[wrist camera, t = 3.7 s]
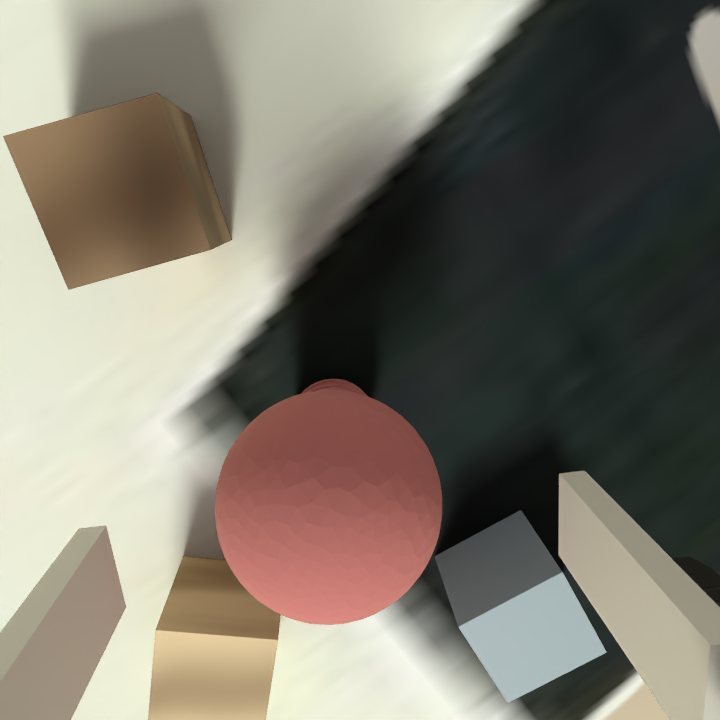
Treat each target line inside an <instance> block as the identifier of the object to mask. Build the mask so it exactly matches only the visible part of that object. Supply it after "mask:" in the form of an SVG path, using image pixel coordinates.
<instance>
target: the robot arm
mask: <svg viewBox="0 0 720 720" xmlns="http://www.w3.org/2000/svg"><path fill="white" fill-rule="evenodd" d="M558 555H559V556H560V558H561V559H562V561H563V562H564V564H565V565H566V567H567V568H568V570H569V571H570V573H571V574H572V576H573V577H574V579H575V580H576V582H577V583H578V585H579V586H580V588H581V589H582V590H583V592H584V593H585V595H586V596H587V598H588V599H589V601H590V602H591V604H592V605H593V607H594V608H595V610H596V611H597V613H598V614H599V616H600V617H601V619H602V620H603V622H604V623H605V625H606V626H607V627H608V629H609V630H610V632H611V633H612V635H613V636H614V638H615V639H616V641H617V642H618V644H619V645H620V647H621V648H622V650H623V651H624V653H625V654H626V656H627V657H628V659H629V660H630V662H631V663H632V664H633V666H634V667H635V669H636V670H637V672H638V673H639V675H640V676H641V678H642V679H643V681H644V682H645V684H646V685H647V687H648V688H649V690H650V691H651V693H652V694H653V695H654V697H655V698H656V700H657V701H658V703H659V704H660V706H661V707H662V709H663V710H664V712H665V713H666V715H667V716H668V718H669V719H670V720H720V576H719V575H718V574H717V573H716V572H715V571H714V570H713V569H711V568H710V567H708V566H706V565H704V564H702V563H700V562H699V561H697V560H695V559H693V558H691V557H683V558H675V559H671V558H670V557H669V556H668V555H667V554H666V553H665V551H664V550H663V549H662V548H661V547H660V546H659V545H658V544H657V543H656V542H655V541H654V540H653V539H652V538H651V537H650V536H649V535H648V534H647V533H646V532H645V531H644V530H643V529H642V528H641V527H640V526H639V525H638V524H637V523H636V522H635V521H634V520H633V519H632V518H631V517H630V516H629V515H628V514H627V513H626V512H625V511H624V510H623V509H622V508H621V507H620V506H619V505H618V504H617V503H616V502H615V501H614V500H613V499H612V498H611V497H610V496H609V495H608V494H607V493H606V492H605V491H604V490H603V489H602V488H601V487H600V486H599V485H598V484H597V483H596V482H595V481H594V480H593V479H592V478H591V477H590V476H589V475H588V474H587V473H586V472H585V471H578V472H569V473H560V474H559V551H558ZM125 608H126V605H125V601H124V597H123V593H122V589H121V585H120V581H119V576H118V572H117V568H116V564H115V560H114V556H113V552H112V548H111V544H110V540H109V535H108V531H107V527H106V526H98V527H90V528H81V529H78V530H77V532H76V533H75V534H74V536H73V537H72V538H71V540H70V541H69V542H68V544H67V545H66V546H65V548H64V549H63V550H62V552H61V553H60V554H59V556H58V557H57V558H56V560H55V561H54V562H53V564H52V565H51V566H50V568H49V569H48V570H47V572H46V573H45V574H44V575H43V577H42V578H41V579H40V581H39V582H38V583H37V585H36V586H35V587H34V589H33V590H32V591H31V593H30V594H29V595H28V597H27V598H26V599H25V601H24V602H23V603H22V605H21V606H20V607H19V609H18V610H17V611H16V613H15V614H14V615H13V617H12V618H11V619H10V621H9V622H8V623H7V625H6V626H5V627H4V628H3V630H2V631H1V632H0V720H71V718H72V716H73V714H74V712H75V710H76V708H77V706H78V704H79V702H80V700H81V698H82V696H83V694H84V692H85V689H86V687H87V685H88V683H89V681H90V679H91V677H92V675H93V673H94V671H95V669H96V667H97V665H98V663H99V661H100V659H101V657H102V655H103V653H104V651H105V649H106V647H107V645H108V643H109V641H110V638H111V636H112V634H113V632H114V630H115V628H116V626H117V624H118V622H119V620H120V618H121V616H122V614H123V612H124V610H125Z"/></svg>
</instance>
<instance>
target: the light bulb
mask: <svg viewBox="0 0 720 720" xmlns="http://www.w3.org/2000/svg"><path fill="white" fill-rule="evenodd" d="M441 518H442V492H441V486H440V480H439V476H438V473H437V470H436V467H435V464H434V461H433V458H432V456H431V454H430V452H429V450H428V448H427V446H426V445H425V443H424V442H423V440H422V439H421V437H420V436H419V434H418V433H417V432H416V430H415V429H414V428H413V427H412V426H411V425H410V424H409V423H408V422H407V421H406V420H405V419H404V418H403V417H402V416H401V415H400V414H398V413H397V412H395V411H394V410H393V409H391V408H390V407H388V406H387V405H385V404H383V403H381V402H379V401H377V400H375V399H372V398H370V397H368V396H367V395H366V394H365V393H364V392H363V391H362V390H361V389H360V388H359V387H357V386H356V385H355V384H353V383H351V382H348V381H346V380H342V379H326V380H321V381H319V382H316V383H314V384H312V385H310V386H309V387H307V388H306V389H305V390H304V391H303V392H302V393H301V394H299V395H295V396H292V397H290V398H288V399H285V400H283V401H281V402H279V403H277V404H275V405H273V406H271V407H270V408H268V409H267V410H265V411H264V412H263V413H261V414H260V415H259V416H258V417H257V418H255V419H254V420H253V421H252V422H251V423H250V424H249V425H248V426H247V427H246V428H245V429H244V431H243V432H242V433H241V434H240V436H239V437H238V439H237V440H236V441H235V443H234V444H233V446H232V447H231V449H230V450H229V453H228V455H227V457H226V459H225V462H224V464H223V466H222V469H221V473H220V476H219V480H218V484H217V488H216V498H215V521H216V529H217V534H218V539H219V543H220V546H221V549H222V551H223V554H224V557H225V559H226V561H227V563H228V565H229V567H230V568H231V570H232V571H233V573H234V574H235V576H236V577H237V579H238V580H239V582H240V583H241V584H242V585H243V586H244V588H245V589H246V590H247V591H248V592H249V593H250V594H251V595H252V596H253V597H254V598H256V599H257V600H258V601H259V602H261V603H262V604H264V605H265V606H267V607H268V608H270V609H271V610H273V611H274V612H277V613H279V614H281V615H283V616H285V617H288V618H291V619H294V620H297V621H301V622H305V623H310V624H325V625H333V624H344V623H348V622H353V621H357V620H361V619H364V618H366V617H369V616H371V615H374V614H376V613H377V612H379V611H381V610H383V609H385V608H386V607H388V606H389V605H391V604H392V603H393V602H395V601H396V600H398V599H399V598H400V597H401V596H402V595H403V594H404V593H406V592H407V591H408V590H409V589H410V588H411V586H412V585H413V584H414V583H415V581H416V580H417V579H418V578H419V576H420V575H421V574H422V572H423V570H424V569H425V567H426V565H427V563H428V562H429V559H430V557H431V555H432V553H433V551H434V548H435V545H436V542H437V539H438V536H439V531H440V525H441Z"/></svg>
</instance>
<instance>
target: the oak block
mask: <svg viewBox="0 0 720 720" xmlns="http://www.w3.org/2000/svg"><path fill="white" fill-rule="evenodd" d="M279 623H280V614H279V613H277V612H274V611H273V610H271V609H270V608H268V607H267V606H265V605H264V604H262V603H261V602H259V601H258V600H257V599H256V598H254V597H253V596H252V595H251V594H250V593H249V592H248V591H247V590H246V589H245V588H244V586H243V585H242V584H241V583H240V582H239V580H238V579H237V577H236V576H235V574H234V573H233V571H232V570H231V568H230V567H229V565H228V563H227V561H226V560H217V559H207V558H196V557H186V556H183V558H182V561H181V564H180V566H179V569H178V572H177V574H176V577H175V580H174V582H173V585H172V588H171V590H170V593H169V596H168V598H167V601H166V604H165V606H164V609H163V612H162V614H161V617H160V620H159V622H158V625H157V628H156V631H155V643H154V655H153V667H152V679H151V691H150V703H149V715H148V720H266V715H267V708H268V702H269V695H270V689H271V682H272V676H273V669H274V663H275V656H276V650H277V643H278V634H279Z"/></svg>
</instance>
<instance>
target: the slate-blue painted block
mask: <svg viewBox="0 0 720 720" xmlns="http://www.w3.org/2000/svg"><path fill="white" fill-rule="evenodd" d="M435 559H436V562H437V565H438V568H439V571H440V574H441V577H442V580H443V583H444V586H445V589H446V592H447V595H448V598H449V600H450V603H451V606H452V609H453V612H454V615H455V618H456V621H457V624H458V627H459V629H460V630H461V632H462V633H463V635H464V636H465V638H466V639H467V641H468V642H469V644H470V646H471V647H472V649H473V650H474V652H475V653H476V655H477V656H478V658H479V659H480V661H481V663H482V664H483V666H484V667H485V669H486V670H487V672H488V673H489V675H490V676H491V678H492V679H493V681H494V683H495V684H496V686H497V687H498V689H499V690H500V692H501V693H502V695H503V696H504V698H505V700H506V701H507V703H509V702H511V701H513V700H514V699H516V698H518V697H520V696H522V695H524V694H526V693H528V692H530V691H532V690H534V689H536V688H538V687H540V686H542V685H544V684H546V683H548V682H550V681H552V680H553V679H555V678H557V677H559V676H561V675H563V674H565V673H567V672H569V671H571V670H573V669H575V668H577V667H579V666H581V665H583V664H585V663H587V662H589V661H591V660H592V659H594V658H596V657H598V656H600V655H602V654H604V653H606V650H605V649H604V647H603V645H602V643H601V641H600V640H599V638H598V636H597V634H596V632H595V630H594V629H593V627H592V625H591V623H590V621H589V620H588V618H587V616H586V614H585V612H584V611H583V609H582V607H581V605H580V603H579V601H578V600H577V598H576V596H575V594H574V592H573V591H572V589H571V587H570V585H569V583H568V581H567V580H566V578H565V576H564V574H563V572H562V571H561V569H560V568H559V566H558V565H557V563H556V562H555V560H554V559H553V557H552V556H551V554H550V553H549V551H548V550H547V548H546V547H545V545H544V544H543V542H542V541H541V539H540V538H539V536H538V535H537V533H536V532H535V530H534V529H533V527H532V526H531V524H530V523H529V521H528V520H527V518H526V517H525V515H524V514H523V512H522V511H521V510H520V511H518V512H516V513H514V514H512V515H511V516H509V517H507V518H505V519H503V520H501V521H499V522H498V523H496V524H494V525H492V526H490V527H488V528H486V529H485V530H483V531H481V532H479V533H477V534H475V535H473V536H472V537H470V538H468V539H466V540H464V541H462V542H460V543H459V544H457V545H455V546H453V547H451V548H449V549H447V550H446V551H444V552H442V553H440V554H438V555H436V556H435Z"/></svg>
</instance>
